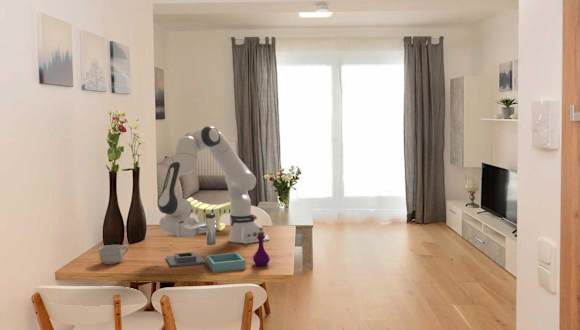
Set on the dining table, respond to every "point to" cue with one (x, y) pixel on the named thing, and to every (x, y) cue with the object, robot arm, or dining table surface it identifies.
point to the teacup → (112, 253)
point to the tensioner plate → (185, 259)
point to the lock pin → (211, 225)
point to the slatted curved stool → (210, 211)
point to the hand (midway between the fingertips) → (212, 229)
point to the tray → (225, 262)
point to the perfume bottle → (261, 251)
